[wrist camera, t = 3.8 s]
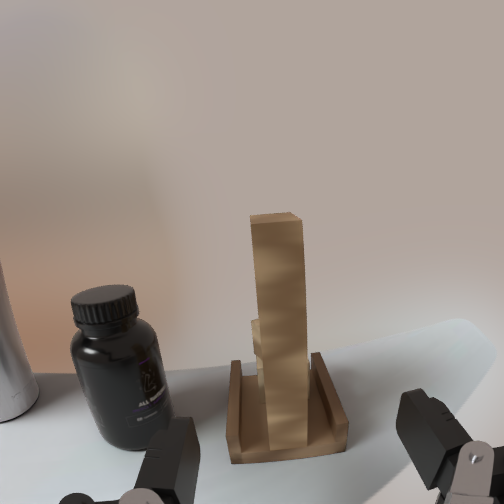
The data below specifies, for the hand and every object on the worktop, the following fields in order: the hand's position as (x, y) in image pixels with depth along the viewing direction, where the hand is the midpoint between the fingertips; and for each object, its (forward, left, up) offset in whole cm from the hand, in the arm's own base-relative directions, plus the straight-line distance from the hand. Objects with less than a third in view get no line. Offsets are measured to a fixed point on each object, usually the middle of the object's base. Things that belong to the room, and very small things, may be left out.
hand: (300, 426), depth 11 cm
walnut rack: (0, +12, -10) cm, 15 cm away
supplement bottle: (-12, +11, -10) cm, 19 cm away
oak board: (0, +9, -8) cm, 12 cm away
